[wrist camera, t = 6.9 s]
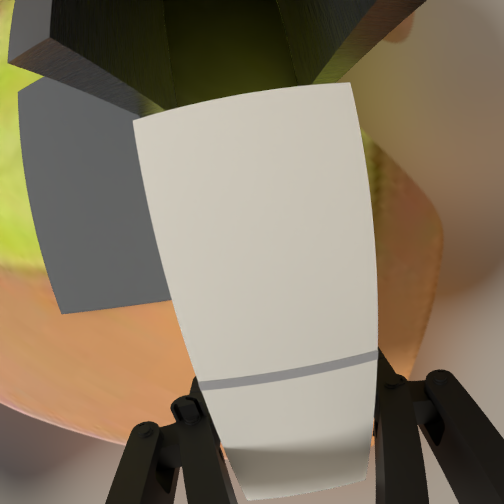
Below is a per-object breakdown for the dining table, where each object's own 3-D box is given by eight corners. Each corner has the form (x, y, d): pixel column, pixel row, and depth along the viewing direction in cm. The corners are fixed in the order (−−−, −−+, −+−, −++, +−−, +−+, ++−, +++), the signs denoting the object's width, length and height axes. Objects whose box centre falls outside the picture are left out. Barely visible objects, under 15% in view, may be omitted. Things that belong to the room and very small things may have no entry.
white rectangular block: (247, 370, 19) (247, 501, 10) (199, 148, 16) (131, 120, 6) (322, 357, 19) (365, 480, 9) (291, 132, 16) (350, 82, 6)
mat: (65, 310, 19) (61, 314, 18) (22, 93, 15) (18, 91, 14) (180, 294, 18) (178, 298, 18) (133, 42, 14) (130, 38, 14)
